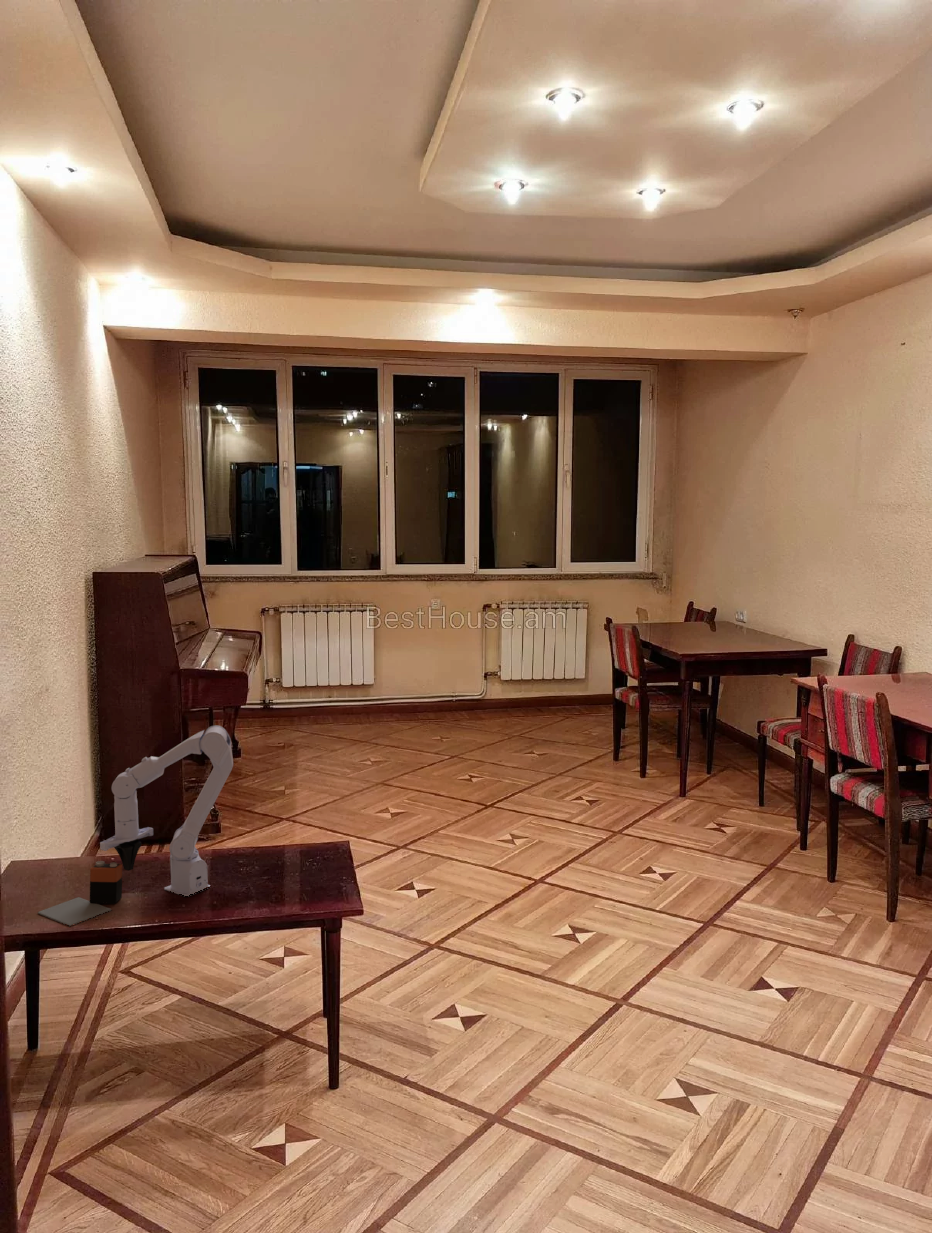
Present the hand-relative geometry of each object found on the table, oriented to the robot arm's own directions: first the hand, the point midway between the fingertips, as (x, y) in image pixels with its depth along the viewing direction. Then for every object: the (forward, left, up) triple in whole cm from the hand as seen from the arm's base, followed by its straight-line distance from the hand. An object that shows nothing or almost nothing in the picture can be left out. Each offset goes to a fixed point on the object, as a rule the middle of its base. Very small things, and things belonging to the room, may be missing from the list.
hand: (128, 869), depth 227 cm
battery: (0, +7, -6) cm, 9 cm away
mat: (+1, +15, -6) cm, 16 cm away
